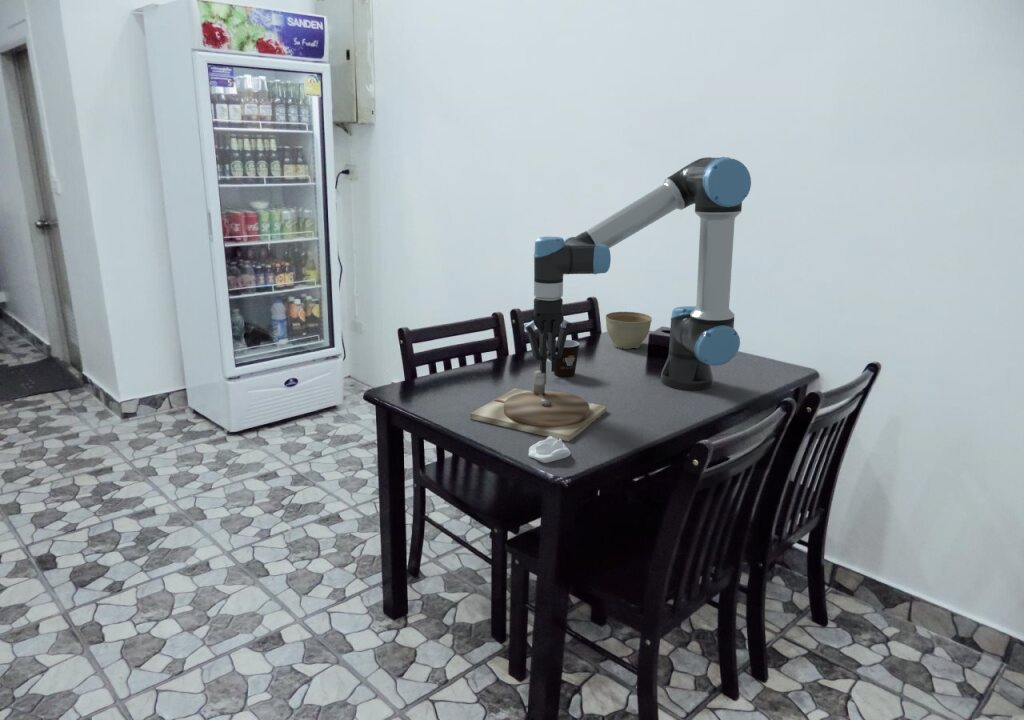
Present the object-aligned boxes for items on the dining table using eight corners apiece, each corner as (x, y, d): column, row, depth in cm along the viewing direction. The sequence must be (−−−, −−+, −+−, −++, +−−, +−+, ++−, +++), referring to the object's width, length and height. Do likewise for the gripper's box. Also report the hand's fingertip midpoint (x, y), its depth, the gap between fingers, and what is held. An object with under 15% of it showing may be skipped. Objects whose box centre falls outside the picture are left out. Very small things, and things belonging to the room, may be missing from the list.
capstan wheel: (599, 424, 167) (601, 395, 165) (511, 429, 163) (512, 399, 161) (576, 394, 188) (577, 368, 185) (497, 398, 184) (497, 371, 182)
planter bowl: (603, 351, 236) (604, 320, 233) (605, 339, 251) (606, 310, 248) (650, 353, 233) (652, 322, 230) (649, 341, 248) (651, 312, 245)
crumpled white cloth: (566, 449, 146) (523, 443, 149) (565, 468, 147) (522, 462, 150) (575, 432, 155) (534, 427, 158) (575, 449, 157) (534, 444, 159)
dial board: (606, 411, 180) (606, 405, 179) (568, 441, 160) (569, 434, 160) (514, 393, 193) (514, 387, 192) (470, 418, 174) (470, 412, 173)
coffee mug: (578, 370, 214) (579, 340, 211) (578, 379, 206) (579, 347, 203) (541, 369, 215) (542, 338, 212) (539, 377, 207) (540, 346, 204)
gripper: (565, 293, 182) (563, 376, 188) (520, 296, 178) (519, 381, 184) (577, 298, 175) (574, 385, 182) (530, 301, 171) (529, 390, 178)
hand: (546, 383), depth 183 cm, fingers closed
